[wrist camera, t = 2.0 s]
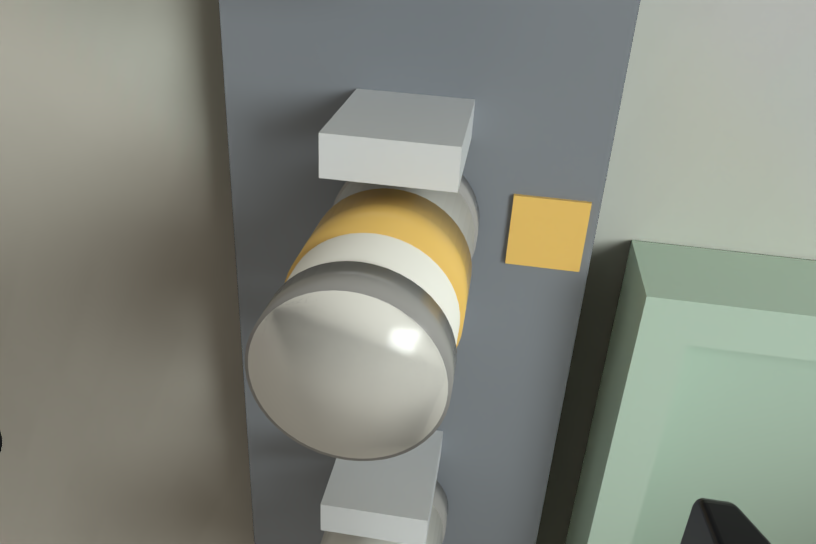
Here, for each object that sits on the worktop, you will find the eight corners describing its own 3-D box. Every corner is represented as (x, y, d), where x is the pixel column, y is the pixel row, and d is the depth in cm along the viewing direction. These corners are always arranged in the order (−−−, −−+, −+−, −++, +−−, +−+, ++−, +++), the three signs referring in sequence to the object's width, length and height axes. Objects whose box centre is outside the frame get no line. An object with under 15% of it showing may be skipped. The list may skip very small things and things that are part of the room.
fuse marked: (487, 156, 15) (461, 301, 10) (472, 287, 17) (443, 475, 11) (338, 141, 15) (238, 274, 10) (337, 271, 17) (249, 446, 12)
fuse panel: (737, -571, 11) (842, -806, 7) (521, 588, 23) (518, 725, 19) (210, -568, 12) (60, -775, 8) (269, 546, 23) (219, 669, 20)
